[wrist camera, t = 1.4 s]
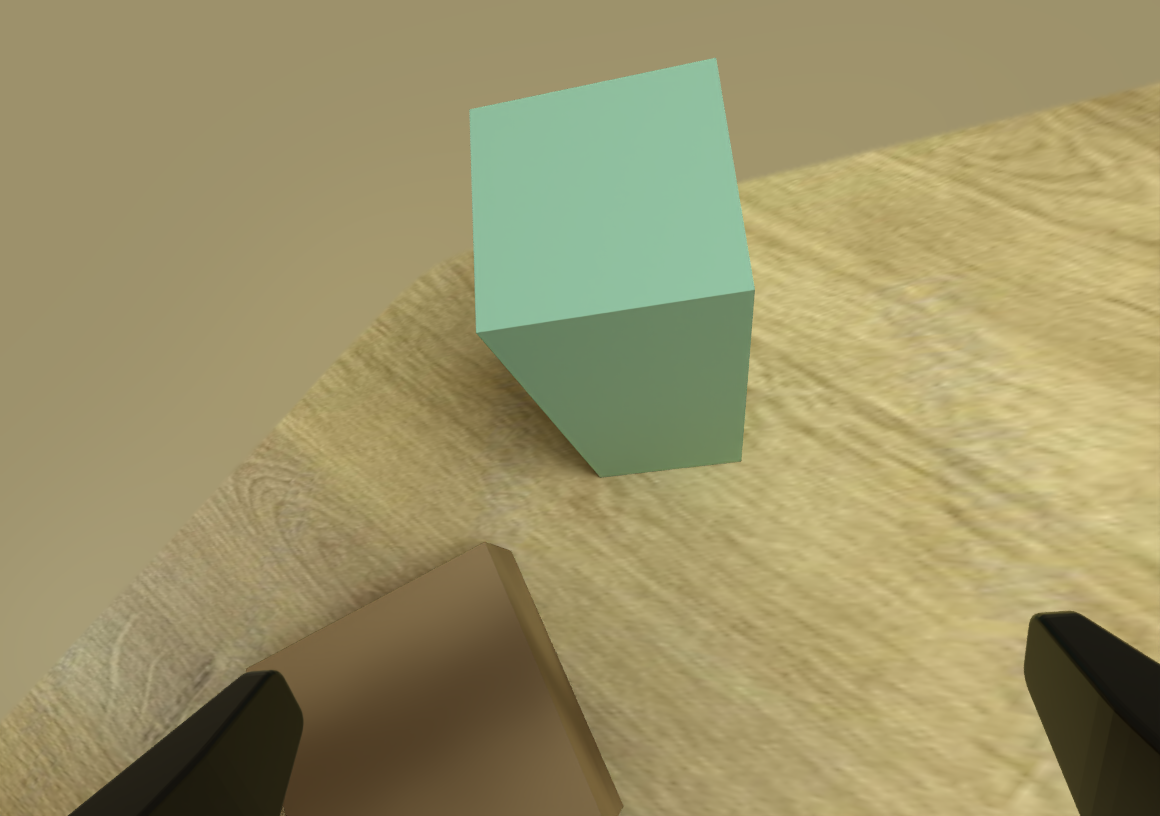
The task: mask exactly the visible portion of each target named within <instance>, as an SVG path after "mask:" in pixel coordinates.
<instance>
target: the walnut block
mask: <svg viewBox="0 0 1160 816" xmlns="http://www.w3.org/2000/svg"><path fill="white" fill-rule="evenodd" d="M260 670H277V671H279V672H280V673H281V674H282V675H283V676H284V678H285V680H286V682H287V683H288V685H289V687H290V689H291V691H292V693H293V695H294V697H295V698H296V700H297V702H298V704H299V706H300V708H301V710H302V713H303V719H304V725H303V732H302V736H301V740H300V744H299V747H298V751H297V755H296V758H295V762H294V766H293V769H292V773H291V777H290V780H289V784H288V788H287V791H286V795H285V799H284V803H283V807H284V810H285V814H286V816H618V814H619V813H620V811H621V809H622V808H623V804H622V802H621V799H620V797H619V795H618V793H617V790H616V788H615V786H614V783H613V781H612V779H611V777H610V774H609V772H608V770H607V768H606V765H605V763H604V761H603V758H602V756H601V754H600V752H599V749H598V747H597V745H596V743H595V740H594V738H593V736H592V733H591V731H590V729H589V727H588V724H587V722H586V720H585V718H584V715H583V713H582V711H581V708H580V706H579V704H578V702H577V699H576V697H575V695H574V693H573V690H572V688H571V686H570V683H569V681H568V679H567V677H566V674H565V672H564V670H563V668H562V665H561V663H560V661H559V658H558V656H557V654H556V652H555V649H554V647H553V645H552V643H551V640H550V638H549V636H548V633H547V631H546V629H545V627H544V624H543V622H542V620H541V618H540V615H539V613H538V611H537V608H536V606H535V604H534V602H533V599H532V597H531V595H530V593H529V590H528V588H527V586H526V583H525V581H524V579H523V577H522V574H521V572H520V570H519V568H518V565H517V563H516V561H515V558H514V556H513V554H512V552H511V551H510V550H507V549H504V548H501V547H498V546H495V545H492V544H489V543H487V542H484V543H482V544H480V545H478V546H476V547H474V548H472V549H470V550H469V551H467V552H465V553H463V554H461V555H459V556H457V557H455V558H453V559H452V560H450V561H448V562H446V563H444V564H442V565H440V566H438V567H437V568H435V569H433V570H431V571H429V572H427V573H425V574H423V575H422V576H420V577H418V578H416V579H414V580H412V581H410V582H408V583H407V584H405V585H403V586H401V587H399V588H397V589H395V590H393V591H392V592H390V593H388V594H386V595H384V596H382V597H380V598H378V599H377V600H375V601H373V602H371V603H369V604H367V605H365V606H363V607H361V608H360V609H358V610H356V611H354V612H352V613H350V614H348V615H346V616H345V617H343V618H341V619H339V620H337V621H335V622H333V623H331V624H330V625H328V626H326V627H324V628H322V629H320V630H318V631H316V632H315V633H313V634H311V635H309V636H307V637H305V638H303V639H301V640H300V641H298V642H296V643H294V644H292V645H290V646H288V647H286V648H285V649H283V650H281V651H279V652H277V653H275V654H273V655H271V656H269V657H268V658H266V659H264V660H262V661H260V662H258V663H256V664H254V665H253V666H251V667H249V668H247V669H246V672H250V671H260Z"/></svg>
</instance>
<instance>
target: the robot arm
mask: <svg viewBox="0 0 1160 816" xmlns="http://www.w3.org/2000/svg"><path fill="white" fill-rule="evenodd" d="M1024 675H1025V681H1026V684H1027V687H1028V690H1029V693H1030V695H1031V697H1032V700H1033V702H1034V705H1035V707H1036V710H1037V712H1038V715H1039V717H1040V719H1041V722H1042V724H1043V727H1044V729H1045V732H1046V734H1047V736H1048V739H1049V741H1050V744H1051V746H1052V749H1053V751H1054V753H1055V756H1056V758H1057V761H1058V763H1059V766H1060V768H1061V770H1062V773H1063V775H1064V778H1065V780H1066V783H1067V785H1068V787H1069V790H1070V792H1071V795H1072V797H1073V800H1074V802H1075V804H1076V807H1077V809H1078V812H1079V814H1080V816H1160V664H1159V663H1158V662H1156V661H1154V660H1153V659H1151V658H1150V657H1148V656H1147V655H1145V654H1143V653H1142V652H1140V651H1139V650H1137V649H1135V648H1134V647H1132V646H1131V645H1129V644H1128V643H1126V642H1124V641H1123V640H1121V639H1120V638H1118V637H1117V636H1115V635H1113V634H1112V633H1110V632H1109V631H1107V630H1106V629H1104V628H1102V627H1101V626H1099V625H1098V624H1096V623H1094V622H1093V621H1091V620H1090V619H1088V618H1087V617H1085V616H1083V615H1081V614H1079V613H1077V612H1074V611H1058V612H1044V613H1037V614H1035V615H1033V616H1032V618H1031V619H1030V623H1029V628H1028V636H1027V644H1026V652H1025V660H1024ZM303 725H304V719H303V713H302V710H301V708H300V706H299V704H298V702H297V700H296V698H295V697H294V695H293V693H292V691H291V689H290V687H289V685H288V683H287V682H286V680H285V678H284V676H283V675H282V674H281V673H280V672H279V671H277V670H260V671H250V672H247V673H245V674H243V675H241V676H240V677H239V678H238V679H236V680H235V681H234V682H233V683H231V684H230V685H229V686H228V687H226V688H225V689H224V690H223V691H221V692H220V693H219V694H218V695H217V696H215V697H214V698H213V699H212V700H210V701H209V702H208V703H207V704H205V705H204V706H203V707H202V708H200V709H199V710H198V711H197V712H195V713H194V714H193V715H192V716H191V717H189V718H188V719H187V720H186V721H184V722H183V723H182V724H181V725H179V726H178V727H177V728H176V729H174V730H173V731H172V732H171V733H170V734H168V735H167V736H166V737H165V738H163V739H162V740H161V741H160V742H158V743H157V744H156V745H155V746H153V747H152V748H151V749H150V750H148V751H147V752H146V753H145V754H144V755H142V756H141V757H140V758H139V759H137V760H136V761H135V762H134V763H132V764H131V765H130V766H129V767H127V768H126V769H125V770H124V771H122V772H121V773H120V774H119V775H118V776H116V777H115V778H114V779H113V780H111V781H110V782H109V783H108V784H106V785H105V786H104V787H103V788H101V789H100V790H99V791H98V792H96V793H95V794H94V795H93V796H92V797H90V798H89V799H88V800H87V801H85V802H84V803H83V804H82V805H80V806H79V807H78V808H77V809H75V810H74V811H73V812H72V813H70V814H69V815H68V816H280V814H281V810H282V806H283V803H284V799H285V795H286V791H287V788H288V784H289V780H290V777H291V773H292V769H293V766H294V762H295V758H296V755H297V751H298V747H299V744H300V740H301V736H302V732H303Z"/></svg>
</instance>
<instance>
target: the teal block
mask: <svg viewBox="0 0 1160 816" xmlns="http://www.w3.org/2000/svg"><path fill="white" fill-rule="evenodd" d="M470 139H471V141H470V142H471V174H472V209H473V243H474V277H475V311H476V333H477V334H478V336H479V337H480V338H481V339H482V340H483V341H484V343H485V344H486V345H487V346H488V347H489V348H490V350H491V351H492V352H493V353H494V354H495V355H496V357H497V358H498V359H499V360H500V361H501V362H502V364H503V365H504V366H505V367H506V368H507V369H508V370H509V372H510V373H511V374H512V375H513V376H514V377H515V379H516V380H517V381H518V382H519V383H520V384H521V386H522V387H523V388H524V389H525V390H526V391H527V393H528V394H529V395H530V396H531V397H532V398H533V400H534V401H535V402H536V403H537V404H538V405H539V407H540V408H541V409H542V410H543V411H544V412H545V414H546V415H547V416H548V417H549V418H550V419H551V421H552V422H553V423H554V424H555V425H556V426H557V428H558V429H559V430H560V431H561V432H562V433H563V435H564V436H565V437H566V438H567V439H568V440H569V442H570V443H571V444H572V445H573V446H574V447H575V449H576V450H577V451H578V452H579V453H580V454H581V456H582V457H583V458H584V459H585V460H586V461H587V463H588V464H589V465H590V466H591V467H592V468H593V470H594V471H595V472H596V473H597V474H598V475H599V477H600V478H601V477H609V476H618V475H627V474H635V473H644V472H653V471H661V470H670V469H679V468H688V467H696V466H705V465H714V464H722V463H731V462H740V461H741V458H742V445H743V433H744V420H745V407H746V395H747V382H748V369H749V357H750V344H751V331H752V319H753V306H754V294H755V288H754V282H753V276H752V270H751V264H750V258H749V252H748V246H747V240H746V234H745V228H744V222H743V216H742V210H741V204H740V198H739V192H738V187H737V181H736V175H735V169H734V163H733V158H732V151H731V145H730V139H729V133H728V127H727V121H726V115H725V109H724V103H723V97H722V91H721V85H720V79H719V73H718V67H717V62H716V58H713V59H708V60H703V61H699V62H694V63H689V64H684V65H679V66H675V67H670V68H665V69H660V70H656V71H651V72H647V73H641V74H637V75H632V76H627V77H623V78H618V79H613V80H608V81H603V82H599V83H594V84H589V85H584V86H580V87H575V88H570V89H565V90H561V91H556V92H551V93H547V94H542V95H538V96H532V97H527V98H523V99H518V100H513V101H509V102H503V103H499V104H494V105H489V106H484V107H480V108H475V109H471V110H470Z"/></svg>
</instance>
